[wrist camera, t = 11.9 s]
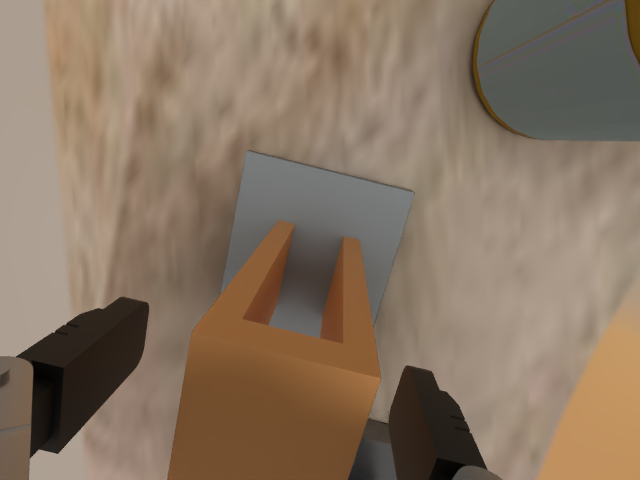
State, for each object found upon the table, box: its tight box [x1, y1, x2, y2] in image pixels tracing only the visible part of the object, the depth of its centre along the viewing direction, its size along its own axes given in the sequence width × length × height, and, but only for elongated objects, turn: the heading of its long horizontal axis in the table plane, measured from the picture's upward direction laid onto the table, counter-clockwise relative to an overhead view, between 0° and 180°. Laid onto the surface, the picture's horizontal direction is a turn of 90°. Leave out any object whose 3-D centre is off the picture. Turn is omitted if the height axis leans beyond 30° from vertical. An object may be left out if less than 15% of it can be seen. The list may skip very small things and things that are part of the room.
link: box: [167, 220, 381, 480], centre depth 14 cm, size 4×4×11 cm
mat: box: [220, 150, 415, 338], centre depth 19 cm, size 10×8×1 cm
